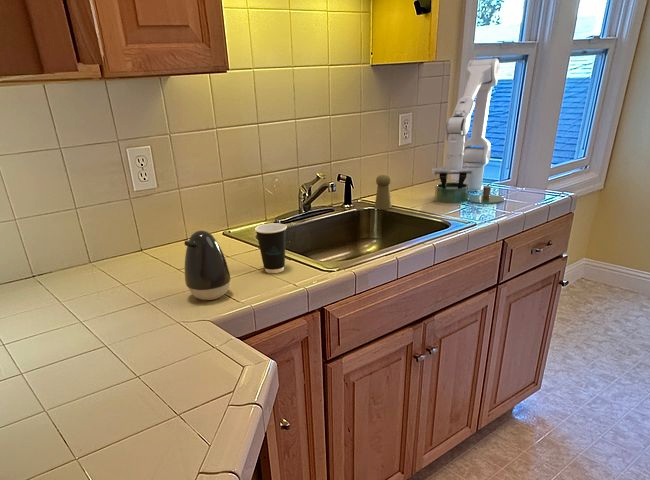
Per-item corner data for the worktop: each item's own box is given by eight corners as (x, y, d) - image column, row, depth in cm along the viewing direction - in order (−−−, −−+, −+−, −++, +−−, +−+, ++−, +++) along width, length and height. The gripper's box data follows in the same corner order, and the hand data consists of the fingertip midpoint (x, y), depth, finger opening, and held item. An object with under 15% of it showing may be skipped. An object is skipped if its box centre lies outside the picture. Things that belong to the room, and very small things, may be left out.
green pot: (435, 197, 188) (436, 182, 185) (467, 197, 185) (469, 182, 182) (433, 204, 178) (434, 189, 176) (466, 205, 175) (468, 189, 172)
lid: (467, 197, 185) (469, 183, 182) (503, 197, 181) (505, 183, 179) (466, 205, 175) (468, 190, 172) (504, 205, 171) (506, 190, 169)
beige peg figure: (371, 206, 181) (371, 175, 176) (385, 204, 183) (386, 172, 178) (380, 210, 176) (381, 177, 171) (394, 207, 178) (395, 175, 173)
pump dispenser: (178, 301, 114) (165, 235, 106) (206, 285, 122) (196, 223, 114) (214, 307, 110) (203, 239, 102) (241, 290, 117) (232, 226, 110)
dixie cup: (272, 277, 124) (267, 233, 118) (253, 270, 129) (248, 228, 124) (296, 269, 128) (293, 226, 123) (277, 262, 134) (273, 221, 128)
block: (445, 197, 183) (446, 186, 181) (456, 197, 182) (458, 186, 180) (444, 200, 180) (445, 188, 178) (456, 200, 179) (457, 188, 177)
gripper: (432, 157, 172) (429, 197, 179) (476, 156, 168) (472, 197, 175) (434, 153, 178) (431, 193, 185) (476, 153, 174) (472, 193, 181)
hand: (451, 195), depth 180 cm, fingers closed on block, 4 cm apart
